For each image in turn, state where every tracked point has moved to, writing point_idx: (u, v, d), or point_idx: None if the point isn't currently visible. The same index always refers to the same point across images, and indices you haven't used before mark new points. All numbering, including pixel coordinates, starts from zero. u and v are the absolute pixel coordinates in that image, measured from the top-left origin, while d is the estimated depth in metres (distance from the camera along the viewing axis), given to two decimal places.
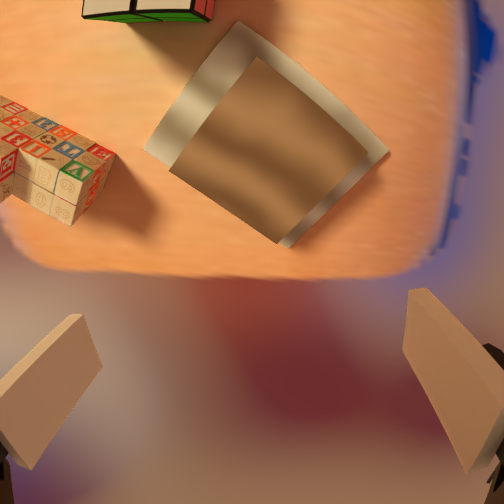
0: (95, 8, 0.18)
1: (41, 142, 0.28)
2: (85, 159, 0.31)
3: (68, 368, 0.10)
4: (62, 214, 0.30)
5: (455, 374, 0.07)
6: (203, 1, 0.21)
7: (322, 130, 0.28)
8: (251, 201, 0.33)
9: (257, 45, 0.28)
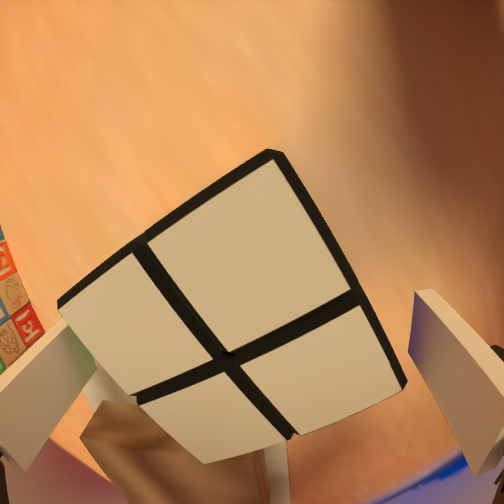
0: (83, 331, 0.11)
1: None
2: (3, 338, 0.19)
3: (62, 370, 0.10)
4: None
5: (463, 376, 0.07)
6: None
7: None
8: (139, 495, 0.22)
9: None
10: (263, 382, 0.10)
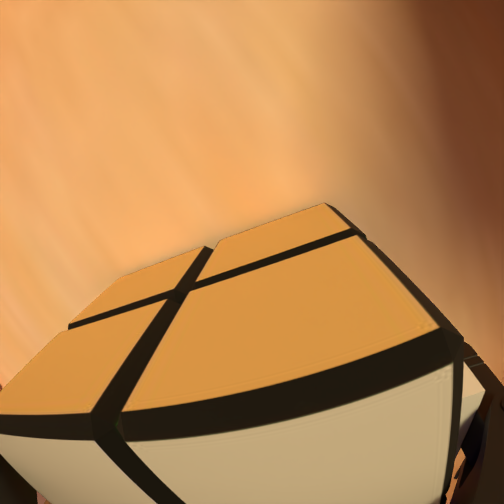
0: (20, 468, 0.05)
1: None
2: None
3: None
4: None
5: None
6: None
7: None
8: None
9: None
10: None
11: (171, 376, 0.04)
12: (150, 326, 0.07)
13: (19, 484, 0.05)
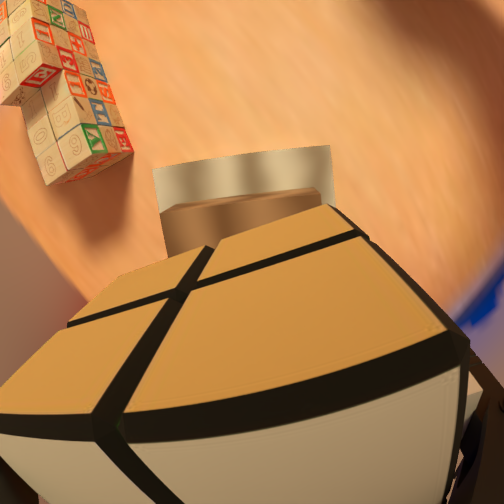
0: (18, 467, 0.05)
1: (83, 83, 0.24)
2: (107, 134, 0.27)
3: None
4: (49, 167, 0.24)
5: None
6: None
7: None
8: None
9: (322, 179, 0.31)
10: None
11: (174, 377, 0.04)
12: (151, 324, 0.07)
13: (20, 484, 0.05)
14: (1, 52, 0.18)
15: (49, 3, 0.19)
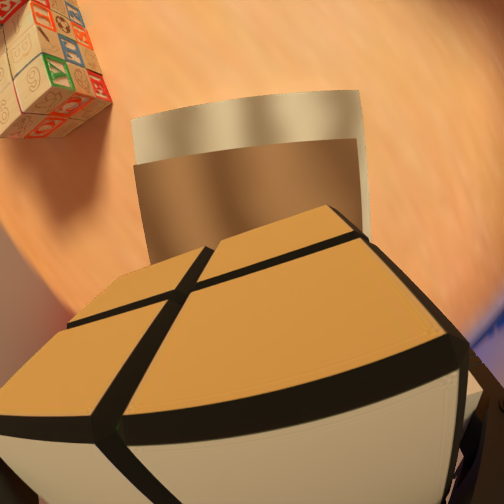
0: (18, 469, 0.05)
1: (53, 19, 0.16)
2: (77, 73, 0.18)
3: None
4: (2, 114, 0.15)
5: None
6: None
7: None
8: None
9: (351, 131, 0.22)
10: None
11: (173, 379, 0.04)
12: (150, 327, 0.07)
13: (20, 484, 0.05)
14: None
15: None
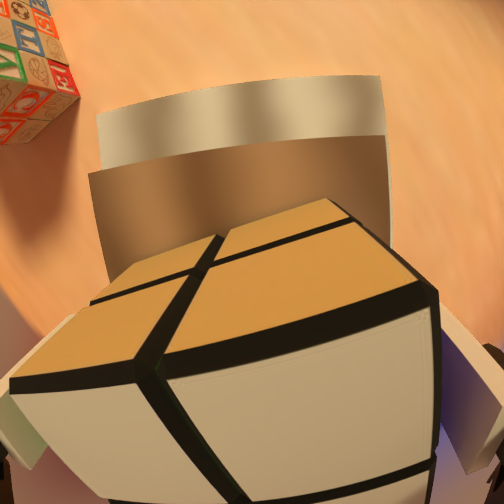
0: (46, 430, 0.06)
1: (8, 4, 0.11)
2: (33, 63, 0.13)
3: None
4: None
5: (455, 374, 0.07)
6: None
7: None
8: None
9: (370, 127, 0.17)
10: None
11: (205, 325, 0.06)
12: (176, 294, 0.08)
13: None
14: None
15: None
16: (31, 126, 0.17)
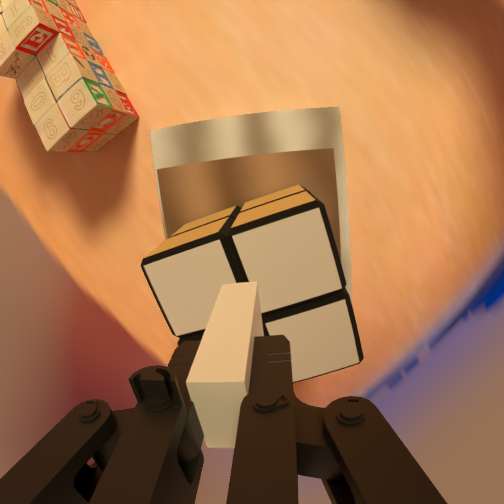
0: (160, 283, 0.17)
1: (81, 48, 0.22)
2: (110, 94, 0.24)
3: None
4: (49, 131, 0.21)
5: None
6: None
7: None
8: None
9: (332, 141, 0.28)
10: None
11: (244, 220, 0.16)
12: (226, 221, 0.19)
13: (181, 496, 0.06)
14: None
15: None
16: (103, 138, 0.28)
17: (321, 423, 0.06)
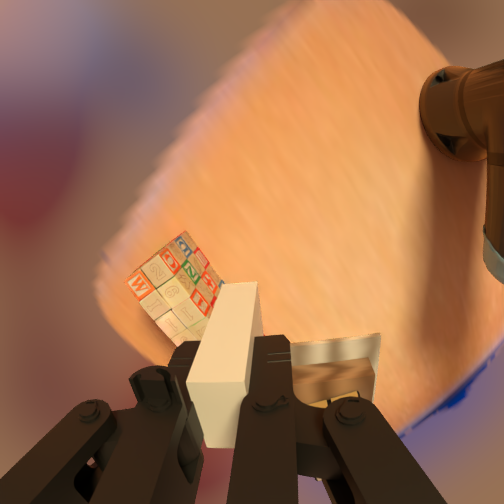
0: None
1: None
2: None
3: None
4: None
5: None
6: None
7: None
8: None
9: (373, 352, 0.50)
10: None
11: None
12: None
13: (181, 496, 0.06)
14: (167, 319, 0.38)
15: (180, 262, 0.39)
16: None
17: (321, 423, 0.06)
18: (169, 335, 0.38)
